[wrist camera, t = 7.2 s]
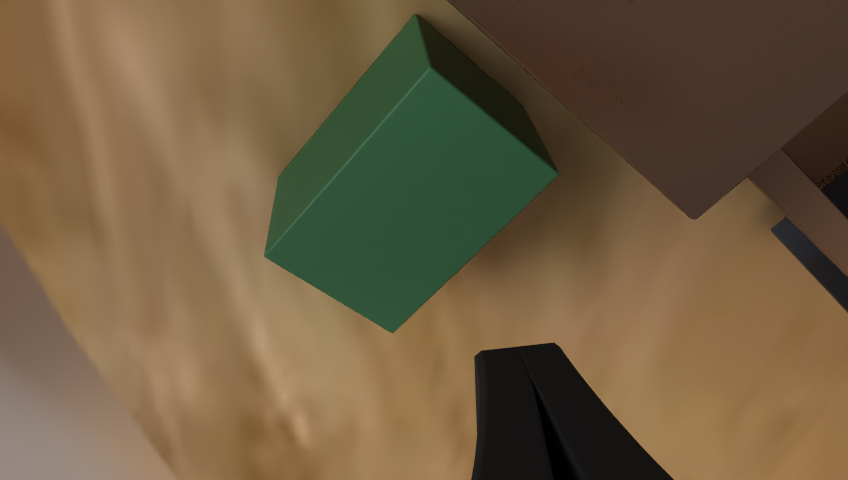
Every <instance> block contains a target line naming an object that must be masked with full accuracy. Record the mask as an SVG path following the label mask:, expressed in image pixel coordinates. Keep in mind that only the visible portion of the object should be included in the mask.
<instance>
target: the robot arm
mask: <svg viewBox="0 0 848 480" xmlns="http://www.w3.org/2000/svg"><path fill="white" fill-rule="evenodd" d="M475 385H476V414H477V443H476V453H475V461H474V467H473V473H472V479H471V480H674V479H673V478H672V477H671V476H670V475H669V474H668V473H667V472H666V471H665V470H664V469H663V468H662V467H661V466H660V465H659V464H658V463H657V462H656V461H655V460H654V459H653V458H652V457H651V456H650V455H649V454H648V453H647V452H646V451H645V450H644V449H643V448H642V447H641V445H640V444H639V443H638V442H637V441H636V440H635V439H634V438H633V437H632V435H631V434H630V433H629V432H628V431H627V430H626V429H625V428H624V427H623V425H622V424H621V423H620V422H619V421H618V420H617V419H616V418H615V417H614V415H613V414H612V413H611V412H610V411H609V410H608V408H607V407H606V406H605V405H604V404H603V402H602V401H601V400H600V399H599V398H598V396H597V395H596V394H595V393H594V391H593V390H592V389H591V388H590V387H589V385H588V384H587V383H586V382H585V380H584V379H583V378H582V376H581V375H580V374H579V373H578V371H577V370H576V369H575V367H574V366H573V365H572V363H571V362H570V361H569V359H568V358H567V356H566V355H565V354H564V352H563V351H562V349H561V348H560V347H559V346H558V345H556V344H555V343H546V344H537V345H529V346H520V347H511V348H502V349H493V350H484V351H480V352H479V353H478V354H477V355H476V356H475Z"/></svg>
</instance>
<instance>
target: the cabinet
mask: <svg viewBox="0 0 848 480" xmlns="http://www.w3.org/2000/svg"><path fill="white" fill-rule="evenodd" d="M447 1H448V2H449V3H451V4H452V5H453V6H454V7H455V8H456V9H457V10H458V11H459V12H461V13H462V14H463V15H464V16H465V17H466V18H467V19H468V20H470V21H471V22H472V23H473V24H474V25H475V26H476V27H477V28H478V29H480V30H481V31H482V32H483V33H484V34H485V35H486V36H487V37H488V38H490V39H491V40H492V41H493V42H494V43H495V44H496V45H497V46H498V47H500V48H501V49H502V50H503V51H504V52H505V53H506V54H507V55H509V56H510V57H511V58H512V59H513V60H514V61H515V62H516V63H517V64H519V65H520V66H521V67H522V68H523V69H524V70H525V71H526V72H527V73H529V74H530V75H531V76H532V77H533V78H534V79H535V80H536V81H538V82H539V83H540V84H541V85H542V86H543V87H544V88H545V89H546V90H548V91H549V92H550V93H551V94H552V95H553V96H554V97H555V98H556V99H558V100H559V101H560V102H561V103H562V104H563V105H564V106H565V107H566V108H568V109H569V110H570V111H571V112H572V113H573V114H574V115H575V116H577V117H578V118H579V119H580V120H581V121H582V122H583V123H584V124H585V125H587V126H588V127H589V128H590V129H591V130H592V131H593V132H594V133H595V134H597V135H598V136H599V137H600V138H601V139H602V140H603V141H604V142H605V143H607V144H608V145H609V146H610V147H611V148H612V149H613V150H614V151H616V152H617V153H618V154H619V155H620V156H621V157H622V158H623V159H624V160H626V161H627V162H628V163H629V164H630V165H631V166H632V167H633V168H634V169H636V170H637V171H638V172H639V173H640V174H641V175H642V176H643V177H644V178H646V179H647V180H648V181H649V182H650V183H651V184H652V185H653V186H655V187H656V188H657V189H658V190H659V191H660V192H661V193H662V194H663V195H665V196H666V197H667V198H668V199H669V200H670V201H671V202H672V203H673V204H675V205H676V206H677V207H678V208H679V209H680V210H681V211H682V212H684V213H685V214H686V215H687V216H688V217H689V218H690V219H693V220H695V219H697V218H699V217H700V216H701V215H702V214H703V213H705V212H706V211H707V210H708V209H709V208H710V207H712V206H713V205H714V204H715V203H716V202H718V201H719V200H720V199H721V198H722V197H724V196H725V195H726V194H727V193H728V192H730V191H731V190H732V189H733V188H734V187H735V186H737V185H738V184H739V183H740V182H741V181H743V180H744V179H745V178H746V177H747V176H749V175H750V174H751V173H752V172H753V171H755V170H756V169H757V168H758V167H759V166H761V165H762V164H763V163H764V162H765V161H766V160H768V159H769V158H770V157H771V156H772V155H774V154H775V153H776V152H777V151H778V150H780V149H781V148H782V147H783V146H784V145H786V144H787V143H788V142H789V141H790V140H792V139H793V138H794V137H795V136H796V135H797V134H799V133H800V132H801V131H802V130H803V129H805V128H806V127H807V126H808V125H809V124H811V123H812V122H813V121H814V120H815V119H817V118H818V117H819V116H820V115H821V114H822V113H824V112H825V111H826V110H827V109H828V108H830V107H831V106H832V105H833V104H834V103H836V102H837V101H838V100H839V99H840V98H842V97H843V96H844V95H845V94H846V93H848V0H447Z"/></svg>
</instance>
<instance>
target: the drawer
mask: <svg viewBox="0 0 848 480" xmlns="http://www.w3.org/2000/svg"><path fill="white" fill-rule="evenodd" d="M847 160H848V93H846V94H845V95H844V96H843V97H842V98H840V99H839V100H838V101H837V102H836V103H834V104H833V105H832V106H831V107H830V108H828V109H827V110H826V111H825V112H824V113H822V114H821V115H820V116H819V117H818V118H817V119H815V120H814V121H813V122H812V123H811V124H809V125H808V126H807V127H806V128H805V129H803V130H802V131H801V132H800V133H799V134H797V135H796V136H795V137H794V138H793V139H792V140H790V141H789V142H788V143H787V144H786V145H784V146H783V147H782V148H781V149H780V150H778V151H777V152H776V153H775V154H774V155H772V156H771V157H770V158H769V159H768V160H766V161H765V162H764V163H763V164H762V165H761V166H759V167H758V168H757V169H756V170H755V171H753V172H752V173H751V174H750V175H749V176H747V178H748V179H749V180H750V181H751V182H752V183H753V184H754V185H755V186H756V187H757V188H758V189H759V190H760V191H761V192H762V193H763V194H764V195H765V196H766V197H767V198H768V199H769V200H770V201H771V202H772V203H773V204H774V205H775V206H776V207H777V208H778V209H779V210H780V211H781V212H782V213H783V214H784V215H785V216H786V217H785V218H784V219H783V220H781V221H780V222H779V223H778V224H776V225H775V226H774V227H773V228H771V232H772V233H773V234H774V235H775V236H776V237H777V238H778V239H779V240H780V241H781V242H782V243H783V244H784V245H785V247H786V248H787V249H788V250H789V251H790V252H791V253H792V254H793V255H794V256H795V257H796V258H797V259H798V260H799V261H800V262H801V264H802V265H803V266H804V267H805V268H806V269H807V270H808V271H809V272H810V273H811V274H812V275H813V276H814V277H815V278H816V279H817V281H818V282H819V283H820V284H821V285H822V286H823V287H824V288H825V289H826V290H827V291H828V292H829V293H830V294H831V295H832V296H833V298H834V299H835V300H836V301H837V302H838V303H839V304H840V305H841V306H842V307H843V308H844V309H845V310H846V311H847V312H848V168H847V169H846V170H844V171H843V172H842V173H841V174H839V175H838V176H837V177H836V178H834V179H833V180H832V181H831V182H829V183H828V184H827V185H826V186H824V187H823V188H822V189H820V188H819V187H818V186H817V184H818V183H819V182H820V181H822V180H823V179H824V178H825V177H827V176H828V175H829V174H830V173H832V172H833V171H834V170H835V169H837V168H838V167H839V166H840V165H842V164H843V163H844V162H845V161H847Z"/></svg>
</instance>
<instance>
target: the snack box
mask: <svg viewBox="0 0 848 480" xmlns="http://www.w3.org/2000/svg"><path fill="white" fill-rule="evenodd" d="M558 175H559V172H558V170H557V168H556V166H555V164H554V162H553V160H552V159H551V157H550V155H549V153H548V151H547V149H546V147H545V146H544V144H543V142H542V140H541V138H540V136H539V134H538V132H537V131H536V129H535V127H534V125H533V123H532V121H531V119H530V118H529V116H528V114H527V112H526V110H525V108H524V106H523V105H521V104H520V103H519V102H518V101H517V100H516V99H514V98H513V97H512V96H511V95H510V94H509V93H508V92H506V91H505V90H504V89H503V88H502V87H501V86H499V85H498V84H497V83H496V82H495V81H494V80H492V79H491V78H490V77H489V76H488V75H487V74H486V73H484V72H483V71H482V70H481V69H480V68H479V67H477V66H476V65H475V64H474V63H473V62H472V61H471V60H469V59H468V58H467V57H466V56H465V55H464V54H462V53H461V52H460V51H459V50H458V49H457V48H455V47H454V46H453V45H452V44H451V43H450V42H449V41H447V40H446V39H445V38H444V37H443V36H442V35H440V34H439V33H438V32H437V31H436V30H435V29H434V28H432V27H431V26H430V25H429V24H428V23H427V22H425V21H424V20H423V19H422V18H421V17H420V16H418V15H417V14H415V15H414V16H413V17H412V18H411V19H410V20H409V22H408V23H407V24H406V25H405V26H404V28H403V29H402V30H401V31H400V32H399V34H398V35H397V36H396V37H395V38H394V40H393V41H392V42H391V43H390V44H389V45H388V47H387V48H386V49H385V50H384V51H383V53H382V54H381V55H380V56H379V57H378V59H377V60H376V61H375V62H374V63H373V65H372V66H371V67H370V68H369V69H368V71H367V72H366V73H365V74H364V75H363V77H362V78H361V79H360V80H359V81H358V82H357V84H356V85H355V86H354V87H353V88H352V90H351V91H350V92H349V93H348V94H347V96H346V97H345V98H344V99H343V100H342V102H341V103H340V104H339V105H338V106H337V108H336V109H335V110H334V111H333V112H332V114H331V115H330V116H329V117H328V118H327V119H326V121H325V122H324V123H323V124H322V125H321V127H320V128H319V129H318V130H317V131H316V133H315V134H314V135H313V136H312V137H311V139H310V140H309V141H308V142H307V143H306V145H305V146H304V147H303V148H302V149H301V151H300V152H299V153H298V154H297V155H296V156H295V158H294V159H293V160H292V161H291V162H290V164H289V165H288V166H287V167H286V168H285V170H284V171H283V172H282V173H281V174H280V176H279V177H278V182H277V188H276V193H275V198H274V204H273V209H272V215H271V220H270V226H269V231H268V237H267V242H266V247H265V253H264V256H265V257H266V258H267V259H269V260H271V261H272V262H274V263H276V264H277V265H279V266H281V267H282V268H284V269H286V270H287V271H289V272H291V273H292V274H294V275H296V276H297V277H299V278H301V279H302V280H304V281H306V282H307V283H309V284H311V285H312V286H314V287H316V288H317V289H319V290H321V291H322V292H324V293H326V294H327V295H329V296H331V297H332V298H334V299H336V300H337V301H339V302H341V303H342V304H344V305H346V306H347V307H349V308H351V309H353V310H354V311H356V312H358V313H359V314H361V315H363V316H364V317H366V318H368V319H369V320H371V321H373V322H374V323H376V324H378V325H379V326H381V327H383V328H384V329H386V330H388V331H389V332H391V333H394V332H395V331H396V330H397V329H398V328H399V327H400V326H401V325H402V324H403V323H404V322H405V321H406V320H407V319H408V318H409V317H410V316H412V315H413V314H414V313H415V312H416V311H417V310H418V309H419V308H420V307H421V306H422V305H423V304H424V303H425V302H426V301H427V300H428V299H429V298H430V297H431V296H432V295H434V294H435V293H436V292H437V291H438V290H439V289H440V288H441V287H442V286H443V285H444V284H445V283H446V282H447V281H448V280H449V279H450V278H451V277H452V276H453V275H455V274H456V273H457V272H458V271H459V270H460V269H461V268H462V267H463V266H464V265H465V264H466V263H467V262H468V261H469V260H470V259H471V258H472V257H473V256H474V255H475V254H477V253H478V252H479V251H480V250H481V249H482V248H483V247H484V246H485V245H486V244H487V243H488V242H489V241H490V240H491V239H492V238H493V237H494V236H495V235H496V234H497V233H499V232H500V231H501V230H502V229H503V228H504V227H505V226H506V225H507V224H508V223H509V222H510V221H511V220H512V219H513V218H514V217H515V216H516V215H517V214H518V213H519V212H521V211H522V210H523V209H524V208H525V207H526V206H527V205H528V204H529V203H530V202H531V201H532V200H533V199H534V198H535V197H536V196H537V195H538V194H539V193H540V192H542V191H543V190H544V189H545V188H546V187H547V186H548V185H549V184H550V183H551V182H552V181H553V180H554V179H555V178H556V177H557V176H558Z"/></svg>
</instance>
